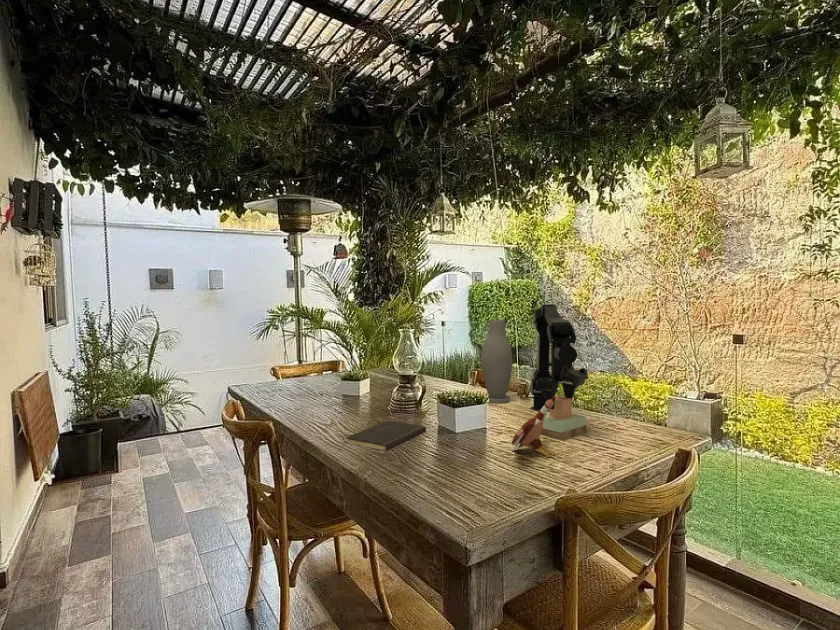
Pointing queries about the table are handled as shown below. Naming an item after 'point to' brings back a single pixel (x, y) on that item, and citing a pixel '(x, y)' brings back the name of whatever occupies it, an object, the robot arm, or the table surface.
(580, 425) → the sage slab
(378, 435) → the hardcover book
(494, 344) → the vase
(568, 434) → the walnut slab
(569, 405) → the terracotta block
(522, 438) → the decorative bird
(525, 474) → the table surface
